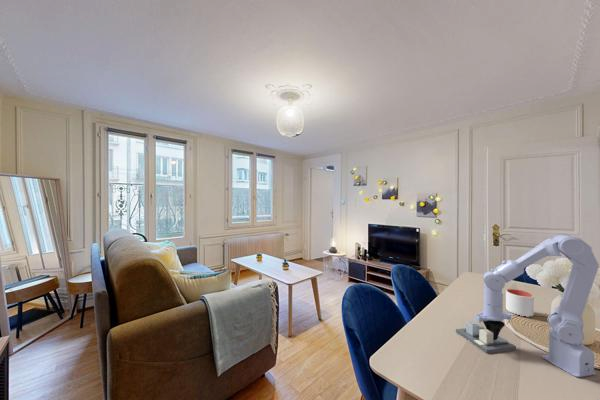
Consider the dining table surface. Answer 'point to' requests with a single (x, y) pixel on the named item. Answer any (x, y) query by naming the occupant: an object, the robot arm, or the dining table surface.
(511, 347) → the switch panel
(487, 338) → the cream switch
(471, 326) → the grey switch
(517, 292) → the cup
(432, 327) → the dining table surface
